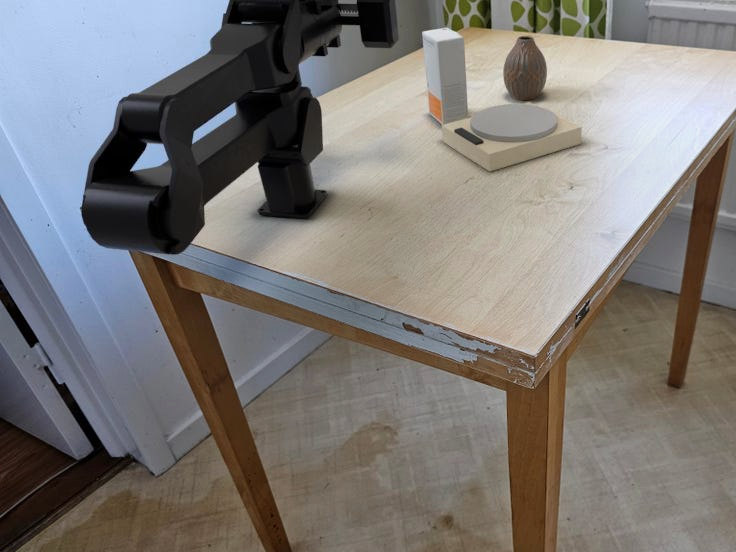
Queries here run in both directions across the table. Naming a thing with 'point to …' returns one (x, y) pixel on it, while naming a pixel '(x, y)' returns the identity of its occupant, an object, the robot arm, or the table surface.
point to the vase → (525, 70)
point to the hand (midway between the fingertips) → (348, 4)
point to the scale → (510, 135)
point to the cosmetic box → (445, 75)
